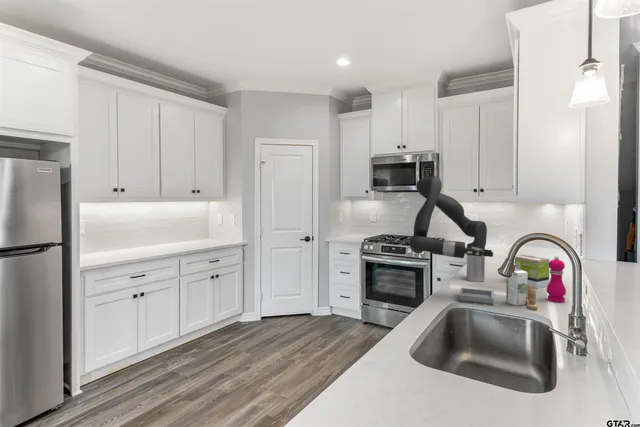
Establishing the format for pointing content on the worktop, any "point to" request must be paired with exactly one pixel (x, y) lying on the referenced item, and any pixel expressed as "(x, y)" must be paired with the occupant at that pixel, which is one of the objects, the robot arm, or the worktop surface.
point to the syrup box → (517, 288)
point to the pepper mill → (556, 281)
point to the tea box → (534, 270)
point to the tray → (476, 296)
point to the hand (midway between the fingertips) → (492, 253)
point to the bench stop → (531, 298)
